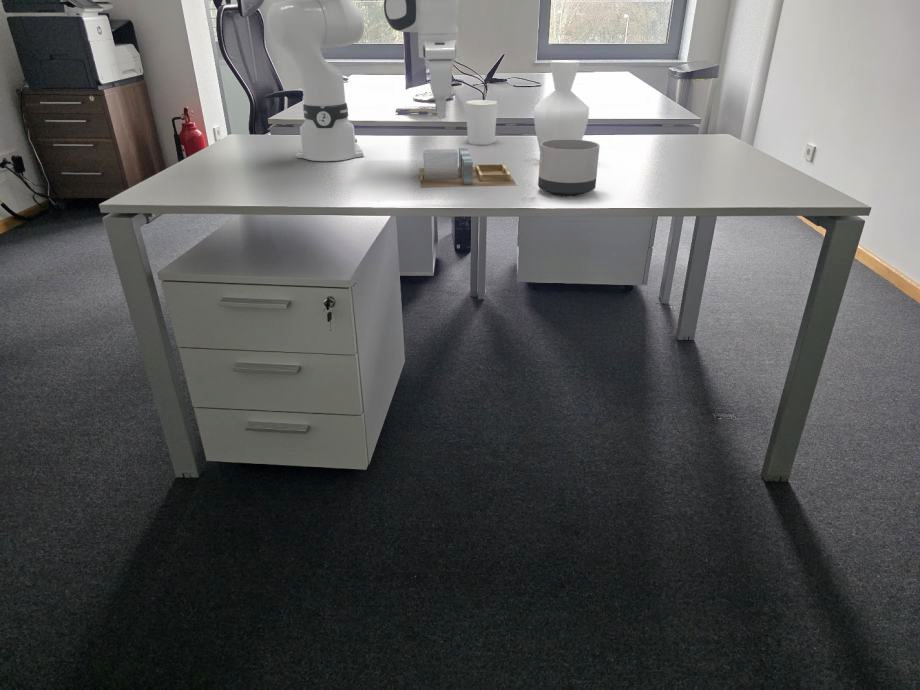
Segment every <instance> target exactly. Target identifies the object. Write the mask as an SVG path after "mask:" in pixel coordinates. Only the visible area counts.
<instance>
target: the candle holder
mask: <svg viewBox="0 0 920 690" xmlns="http://www.w3.org/2000/svg"><path fill="white" fill-rule="evenodd" d="M498 104H499V101H496V100H487V99H482V100H481V99H476V100H475V99H473V100H467V101H465V111H466V114H465V115H466V130H467V131H466V132H467V143H468V144H470V145H473V146H486V145H487V146H489V144H490V145H493V144H495V139H496V128H497V127H496V126H497V115H498ZM492 143H493V144H492Z"/></svg>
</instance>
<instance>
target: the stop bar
mask: <svg viewBox="0 0 920 690" xmlns="http://www.w3.org/2000/svg"><path fill="white" fill-rule="evenodd" d="M422 156H423V158H422V159H423V168H424V179H447V178H458V167H459V151H458V149H457V148H449V149H448V148H446V149H444V148H441V149H438V148H436V149H423V150H422Z"/></svg>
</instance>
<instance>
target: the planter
mask: <svg viewBox="0 0 920 690" xmlns="http://www.w3.org/2000/svg"><path fill="white" fill-rule="evenodd" d="M600 148H601V147H600V144H599V143H597V142H595V141H590V140H585V139H584V140H583V139H582V140H575V139H557V140H548V141H544V142H542V143H541V144H540V150H539V163H538V164H539V166H538V181H537V186H538V188H539V189H540V190H543V191H544V192H546V193H547V194H549V195H552V196H557V197H566V198H567V197H568V198H569V197H571V198H572V197H579V196H582V195H586V194H588V193H589V192H593V191H594V190H596V185H597V175H598V165H599V154H600Z"/></svg>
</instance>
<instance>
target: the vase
mask: <svg viewBox="0 0 920 690" xmlns="http://www.w3.org/2000/svg"><path fill="white" fill-rule="evenodd" d="M580 63H581V61H580V60H566V59H564V60H560V59H559V60H558V59H557V60H550V61H549V64H550V70H551V75H552V80H553V86H554V91H552V92H551V93H549V95H547V96H546V97H545V98H543V99H542V100H541V101H540V102H539V103H537V104H536V105H535V106H534V113H533V122H534V129H535V135H536V138H537V144H538V149H539V151H540V144H541V143H542V142H544V141H548V140H557V139H575V140H583V138H584V135H585V132H586V130H587V127H588V121H589V115H590V107H589V105H587V104H586V103H585V102H584V101H583V100H582V99H581V98H580V97H578V96H577V95H576V94H575V93H574V92H573V91H572V88H573V84H574V81H575V79H576V75H577V73H578V71H579V70H578V69H579V67H580Z"/></svg>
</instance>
